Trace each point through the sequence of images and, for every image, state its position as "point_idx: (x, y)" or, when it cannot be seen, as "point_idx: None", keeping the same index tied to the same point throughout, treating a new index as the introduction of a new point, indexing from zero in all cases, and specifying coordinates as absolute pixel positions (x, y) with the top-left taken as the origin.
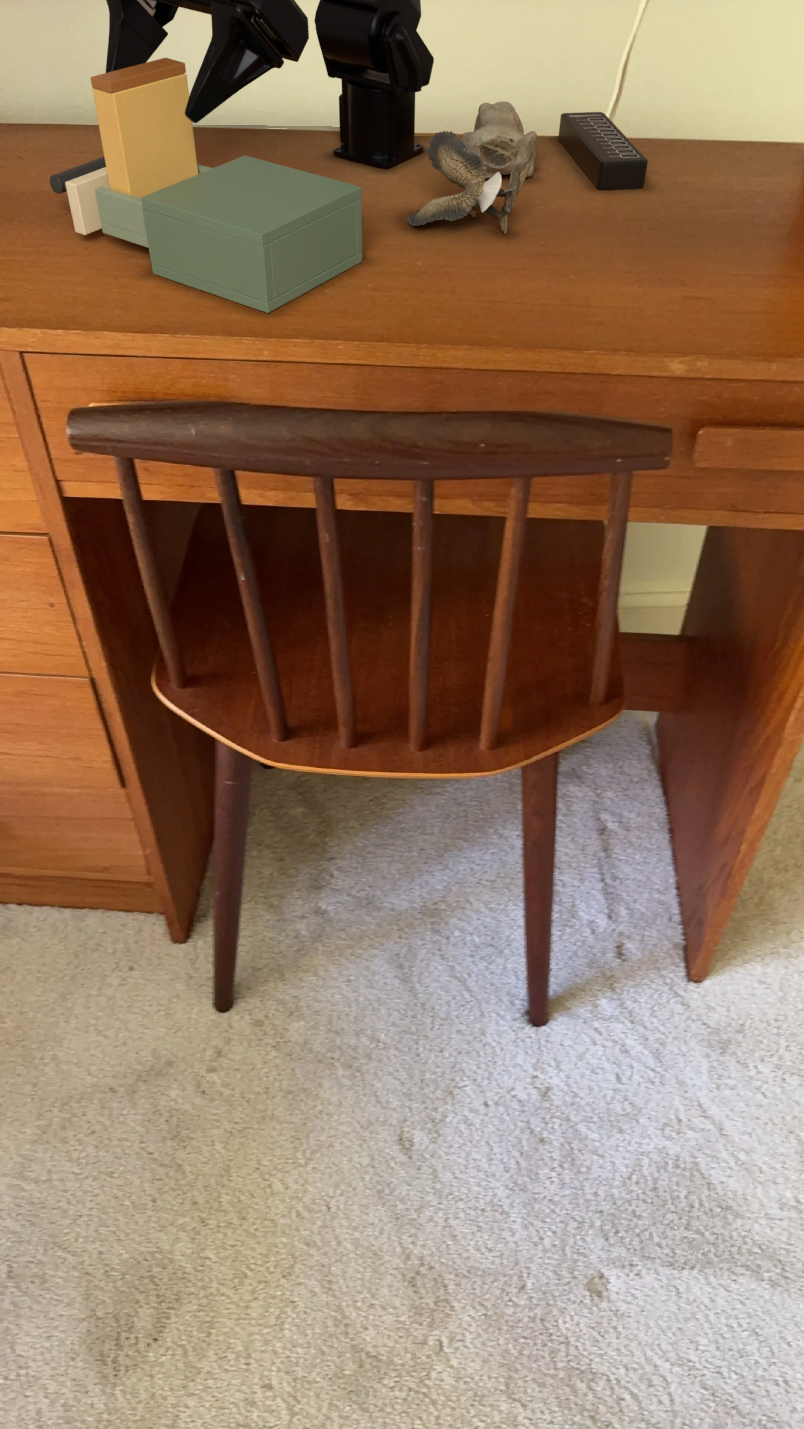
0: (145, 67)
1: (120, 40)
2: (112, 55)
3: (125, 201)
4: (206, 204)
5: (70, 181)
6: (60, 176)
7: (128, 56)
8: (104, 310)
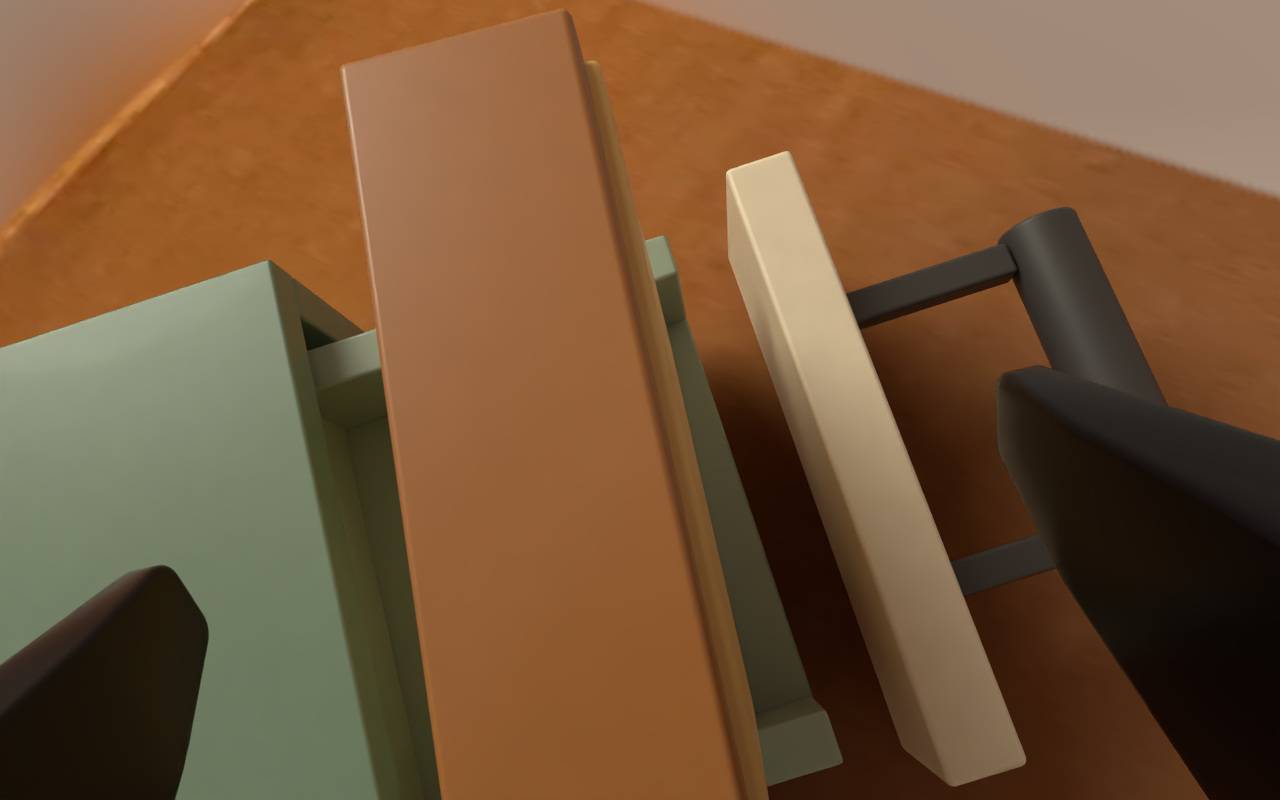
0: (541, 493)
1: (1273, 567)
2: (1178, 454)
3: None
4: (15, 447)
5: (777, 168)
6: (1033, 237)
7: (1195, 638)
8: (275, 133)
